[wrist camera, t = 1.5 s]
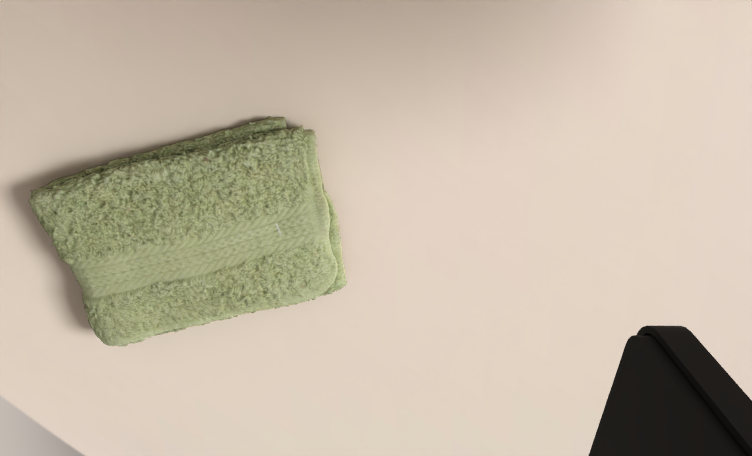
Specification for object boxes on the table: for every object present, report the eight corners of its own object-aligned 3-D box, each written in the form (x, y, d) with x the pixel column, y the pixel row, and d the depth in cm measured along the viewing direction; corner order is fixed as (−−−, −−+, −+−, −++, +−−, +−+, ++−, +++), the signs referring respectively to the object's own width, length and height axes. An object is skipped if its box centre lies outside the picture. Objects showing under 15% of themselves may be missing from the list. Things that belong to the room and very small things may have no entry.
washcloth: (354, 277, 46) (358, 303, 44) (109, 335, 46) (98, 364, 43) (309, 102, 40) (311, 119, 37) (26, 167, 40) (6, 189, 37)
